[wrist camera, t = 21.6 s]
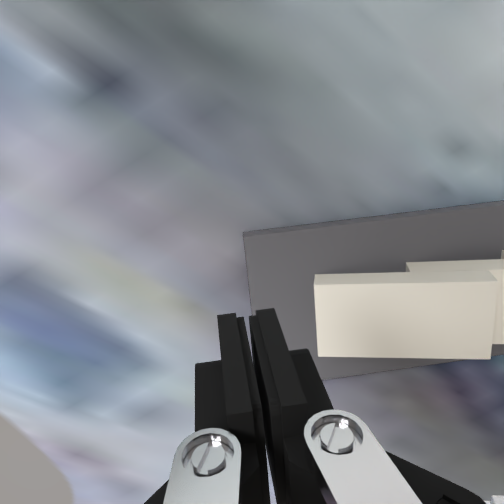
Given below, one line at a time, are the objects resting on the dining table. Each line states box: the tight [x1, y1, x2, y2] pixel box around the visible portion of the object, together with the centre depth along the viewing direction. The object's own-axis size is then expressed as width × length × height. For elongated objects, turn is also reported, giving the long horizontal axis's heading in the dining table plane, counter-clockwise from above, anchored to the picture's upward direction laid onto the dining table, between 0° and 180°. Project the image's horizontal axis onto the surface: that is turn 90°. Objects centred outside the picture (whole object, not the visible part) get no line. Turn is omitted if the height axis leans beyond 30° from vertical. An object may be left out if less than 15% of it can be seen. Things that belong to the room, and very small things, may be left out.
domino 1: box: [314, 270, 498, 359], centre depth 26 cm, size 2×5×10 cm
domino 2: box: [406, 259, 504, 344], centre depth 26 cm, size 2×5×10 cm
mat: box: [243, 201, 504, 380], centre depth 29 cm, size 30×11×1 cm, turn 96°
